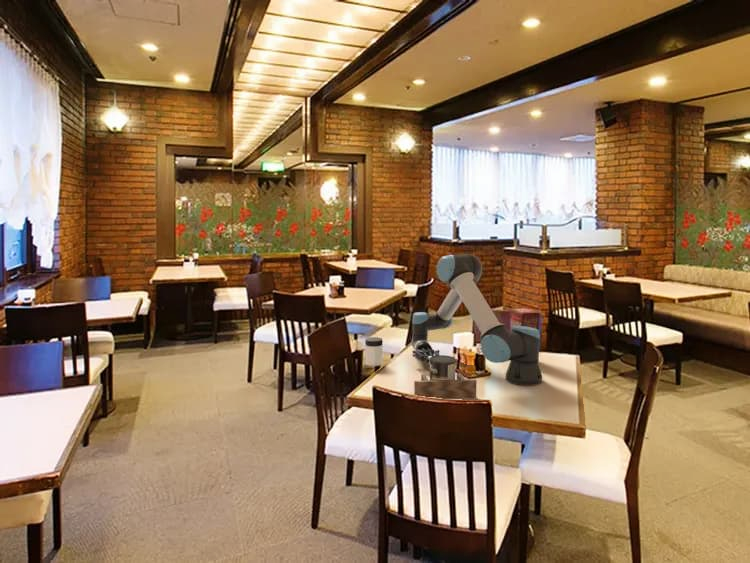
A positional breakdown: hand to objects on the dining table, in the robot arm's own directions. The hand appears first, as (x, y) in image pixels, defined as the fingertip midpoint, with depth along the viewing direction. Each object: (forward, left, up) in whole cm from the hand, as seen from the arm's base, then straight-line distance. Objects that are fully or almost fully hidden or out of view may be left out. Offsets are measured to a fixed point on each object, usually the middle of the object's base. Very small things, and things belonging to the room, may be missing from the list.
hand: (432, 363), depth 231 cm
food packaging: (-48, -20, -6) cm, 52 cm away
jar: (+24, -22, -6) cm, 33 cm away
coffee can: (0, +21, -6) cm, 22 cm away
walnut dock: (0, +23, -6) cm, 24 cm away
